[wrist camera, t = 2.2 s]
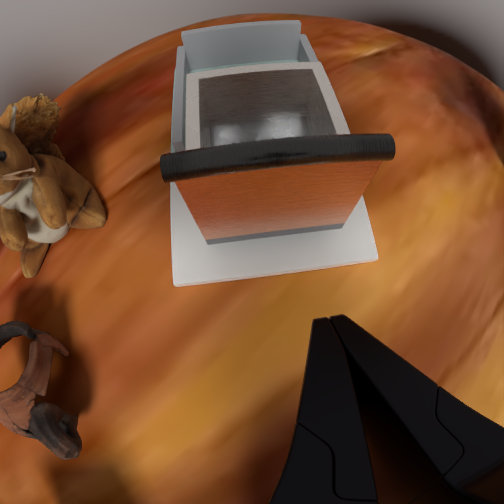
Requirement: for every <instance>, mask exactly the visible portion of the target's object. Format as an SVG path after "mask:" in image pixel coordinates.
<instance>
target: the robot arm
mask: <svg viewBox="0 0 504 504" xmlns="http://www.w3.org/2000/svg"><path fill="white" fill-rule="evenodd" d="M268 504H504V427H502V426H500V425H499V424H497V423H495V422H493V421H492V420H490V419H488V418H486V417H485V416H483V415H481V414H480V413H478V412H477V411H475V410H473V409H472V408H470V407H469V406H467V405H465V404H464V403H463V402H461V401H460V400H458V399H457V398H456V397H454V396H453V395H451V394H450V393H449V392H447V391H446V390H445V389H443V388H442V387H441V386H438V385H437V384H436V383H435V382H434V381H432V380H431V379H430V378H428V377H427V376H426V375H425V374H423V373H422V372H421V371H419V370H418V369H417V368H415V367H414V366H413V365H411V364H410V363H409V362H407V361H406V360H405V359H403V358H402V357H401V356H399V355H398V354H397V353H395V352H394V351H393V350H391V349H390V348H389V347H387V346H386V345H385V344H383V343H382V342H381V341H379V340H378V339H377V338H375V337H374V336H373V335H371V334H370V333H369V332H367V331H366V330H364V329H363V328H362V327H360V326H359V325H358V324H356V323H355V322H354V321H352V320H351V319H350V318H348V317H347V316H346V315H343V314H340V315H335V316H330V317H329V318H327V317H323V318H317V319H313V321H312V327H311V334H310V341H309V348H308V354H307V360H306V366H305V372H304V378H303V384H302V390H301V395H300V401H299V406H298V411H297V416H296V424H295V426H294V430H293V435H292V440H291V444H290V447H289V451H288V455H287V458H286V461H285V464H284V467H283V469H282V472H281V475H280V477H279V480H278V482H277V484H276V487H275V489H274V491H273V494H272V496H271V498H270V500H269V502H268Z"/></svg>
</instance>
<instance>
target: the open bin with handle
mask: <svg viewBox="0 0 504 504" xmlns="http://www.w3.org/2000/svg"><path fill="white" fill-rule="evenodd" d="M394 156H395V142H394V139H393V137H392V136H391V135H390V134H350V131H349V128H348V126H347V123H346V120H345V118H344V115H343V113H342V110H341V108H340V105H339V103H338V100H337V98H336V96H335V93H334V91H333V88H332V86H331V84H330V82H329V79H328V77H327V75H326V73H325V70H324V68H323V66H322V64H321V62H290V63H271V64H258V65H247V66H237V67H229V68H221V69H214V70H208V71H201V72H195V73H190V74H187V76H186V150H185V151H179V152H174V153H168V154H163V155H161V158H160V167H161V173H162V177H163V180H164V182H165V183H170V182H175V184H176V186H177V188H178V190H179V192H180V193H181V195H182V197H183V199H184V201H185V203H186V205H187V207H188V209H189V211H190V212H191V214H192V216H193V218H194V220H195V222H196V224H197V226H198V228H199V229H200V231H201V233H202V235H203V237H204V239H205V241H206V242H207V244H208V245H211V244H219V243H227V242H235V241H243V240H250V239H258V238H266V237H275V236H283V235H291V234H299V233H308V232H316V231H324V230H333V229H341V228H342V227H343V225H344V224H345V222H346V221H347V219H348V217H349V216H350V214H351V213H352V211H353V209H354V208H355V206H356V204H357V203H358V201H359V200H360V198H361V196H362V195H363V193H364V191H365V190H366V188H367V186H368V185H369V183H370V181H371V180H372V178H373V176H374V175H375V173H376V171H377V169H378V168H379V166H380V164H381V163H382V161H389V160H392V159H393V158H394Z"/></svg>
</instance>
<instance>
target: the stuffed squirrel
mask: <svg viewBox="0 0 504 504" xmlns="http://www.w3.org/2000/svg"><path fill="white" fill-rule="evenodd" d="M60 109H61V108H58V106H57V102H52V101H50V99H49V98H47V97H44V94H42V93H40V96H35V98H32V96H26V97H24V98H23V99H22V100H21V101H19V102H18V103H15V104H9V105H8V107H7V109H6V110H5V112H4V113H3V115H2V116H1V117H0V237H1V239H2V241H3V243H4V245H5V246H6V247H8V248H9V249H11V250H13V251H21V258H20V261H21V268H22V271H23V274H24V276H25V277H26V278H31V277H34V276H36V275H37V273H38V271H39V269H40V267H41V264H42V262H43V259H44V257H45V254H46V252H47V249H48V246H49V243H55V242H57V241H58V240H60V239H61V238H63V237H64V236H65V235H66V234H67V232H68V231H69V229H70V227H72V228H79V229H90V228H98V227H103V225H104V224H105V222H106V214H105V210H104V207H103V205H102V203H101V201H100V198H99V196H98V194H97V193H96V190H95V189H94V187H93V186H92V184H91V183H90V182H89V181H87V180H86V179H85V178H83V177H82V176H81V175H80V174H79V173H78V172H76V171H75V170H74V169H73V168H72V167H71V166H70V165H69V164H67V163H66V162H65V157H63V156H62V152H60V150H59V148H58V146H57V145H56V144H54V143H52V139H54V138H53V137H54V134H55V133H57V132H56V131H57V130H56V128H57V127H58V125H59V124H58V122H59V120H60V119H59V115H58V114H59V112H58V111H59V110H60Z"/></svg>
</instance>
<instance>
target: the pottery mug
mask: <svg viewBox="0 0 504 504" xmlns="http://www.w3.org/2000/svg"><path fill="white" fill-rule="evenodd" d="M21 335H25V336H27V337H28V338H30V339H33V340H35V341H33V342H31V343H30V352H29V360H28V363H27V365H26V368H25V370H24V372H23V374H22V375H21V377H20V379H19V380H18V382H17V383H16V384H14V385H13V386H12V387H11V388H9V389H7V390H5V391H2V392H0V422H1V423H2V424H3V425H4V426H5V427H7V428H8V429H9V430H10V431H12V432H14V433H16V434H19V435H22V436H25V437H29V438H34V439H38V440H39V441H40V442H41V443H43V444H44V445H45V446H46V447H47V448H49V449H50V450H51V451H52V452H53V453H54V454H55V455H56V456H57V457H59V458H61V459H63V460H69V459H74V458H76V457H78V456H79V453H80V452H81V450H82V441H81V438H80V436H79V434H78V431H77V424H78V417H77V416H75V415H71V414H68V413H66V412H65V411H64V410H62V409H61V408H60V407H59V406H57V405H55V404H52V403H48V402H39V403H38V404H36V405H35V398H36V395H41V396H45V395H46V391H47V386H48V381H49V378H50V370H51V365H52V357H53V354H52V350H54V351H58V352H60V353H61V354H63V355H64V356H68V355H69V352H68V350H67V349H66V348H65V346H64V345H63V344H61V343H60V342H59V341H58V340H57V339H55V338H54V337H52V336H50V334H49V333H47V332H44V331H40V330H37V329H32V328H31V327H30V325H28V324H26V323H24V322H19V321H11V322H7V323H5V324H2V325H0V348H1V347H2V346H3V345H4V344H5V343H7V342H8V341H9V340H11V339H12V338H13V337H17V336H21Z"/></svg>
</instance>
